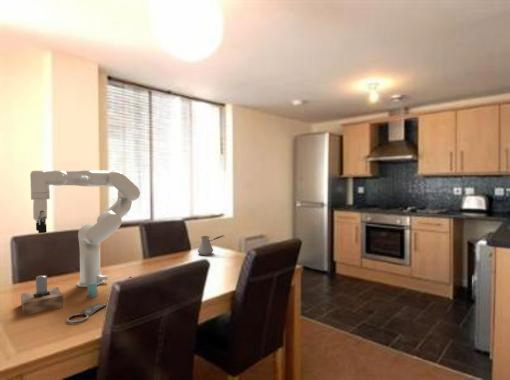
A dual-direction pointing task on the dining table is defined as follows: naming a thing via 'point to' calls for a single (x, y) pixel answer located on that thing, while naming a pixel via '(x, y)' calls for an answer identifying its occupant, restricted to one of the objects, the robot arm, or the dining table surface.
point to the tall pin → (41, 286)
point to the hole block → (41, 301)
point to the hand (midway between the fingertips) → (41, 231)
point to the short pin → (92, 289)
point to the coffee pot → (206, 245)
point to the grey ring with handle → (85, 314)
